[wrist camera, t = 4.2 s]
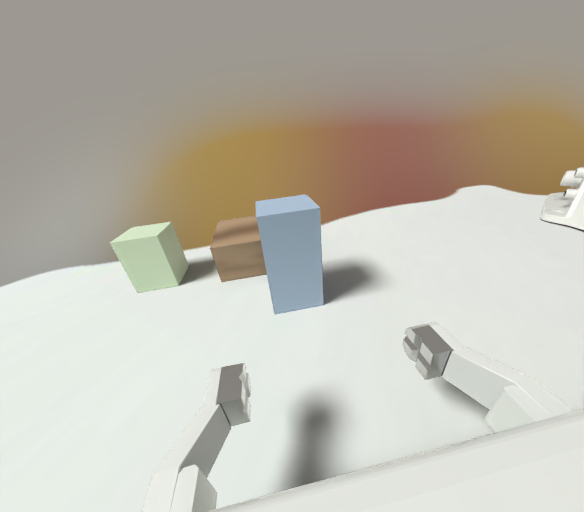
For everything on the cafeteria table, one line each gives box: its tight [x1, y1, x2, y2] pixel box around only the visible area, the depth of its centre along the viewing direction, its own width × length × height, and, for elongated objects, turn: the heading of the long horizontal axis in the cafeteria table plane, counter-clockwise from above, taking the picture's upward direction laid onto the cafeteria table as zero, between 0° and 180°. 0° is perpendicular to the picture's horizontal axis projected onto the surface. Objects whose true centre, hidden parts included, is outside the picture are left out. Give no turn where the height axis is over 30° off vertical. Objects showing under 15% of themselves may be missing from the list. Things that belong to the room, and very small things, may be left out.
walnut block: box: [210, 216, 267, 282], centre depth 30 cm, size 8×8×5 cm
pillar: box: [256, 195, 324, 314], centre depth 21 cm, size 5×5×10 cm
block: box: [110, 222, 189, 293], centre depth 28 cm, size 5×5×7 cm
